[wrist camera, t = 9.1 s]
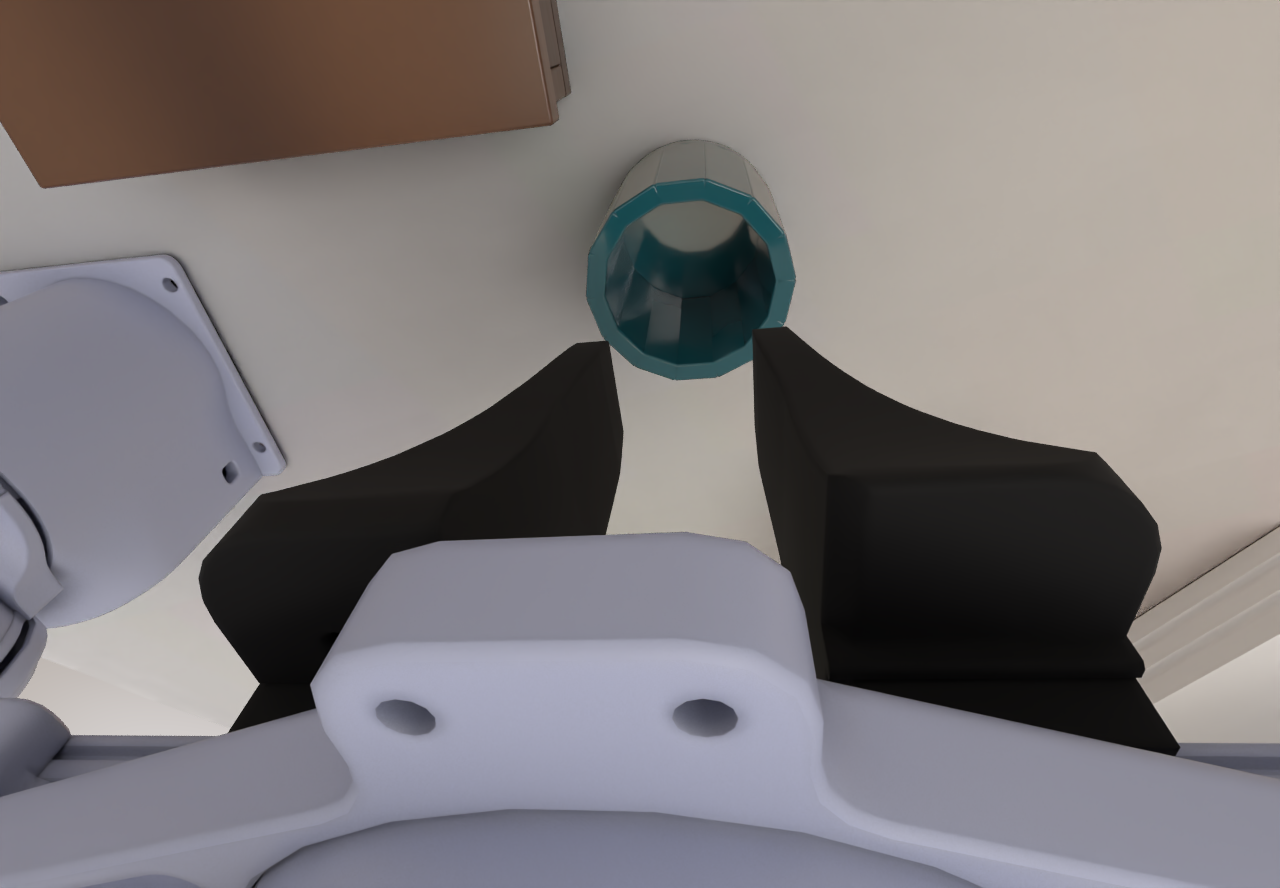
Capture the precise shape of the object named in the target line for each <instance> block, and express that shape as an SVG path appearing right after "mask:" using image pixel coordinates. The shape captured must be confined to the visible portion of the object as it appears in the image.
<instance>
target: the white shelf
mask: <svg viewBox="0 0 1280 888" xmlns="http://www.w3.org/2000/svg"><path fill="white" fill-rule="evenodd" d="M1127 637H1128V638H1129V640H1130V641H1131V643H1132V644H1133V646H1134V647H1135V649H1136V650H1137V652H1138V653H1139V655H1140V656H1141V658H1142V659H1143V660H1144V665H1145V672H1144V674H1143V676H1142V678H1136V679H1137V681H1138V682H1139V684H1140V685H1141V687H1142V688H1143V690H1144V692H1145V693H1146V695H1147V696H1148V698H1149V699H1150V701H1151V702H1152V704H1153V705H1154V707H1155V709H1156V710H1157V712H1158V713H1159V715H1160V716H1161V718H1162V719H1163V721H1164V722H1165V724H1166V726H1167V727H1168V729H1169V730H1170V732H1171V733H1172V735H1173V736H1174V738H1175V739H1176V741H1177V743H1280V527H1278V528H1277V529H1275V530H1274V531H1272V532H1271V533H1269V534H1267V535H1266V536H1264V537H1263V538H1261V539H1260V540H1258V541H1257V542H1255V543H1253V544H1252V545H1250V546H1249V547H1247V548H1246V549H1244V550H1243V551H1241V552H1239V553H1238V554H1236V555H1235V556H1233V557H1232V558H1230V559H1229V560H1227V561H1226V562H1224V563H1222V564H1221V565H1219V566H1218V567H1216V568H1215V569H1213V570H1212V571H1210V572H1208V573H1207V574H1205V575H1204V576H1202V577H1201V578H1199V579H1198V580H1196V581H1194V582H1193V583H1191V584H1190V585H1188V586H1187V587H1185V588H1184V589H1182V590H1181V591H1179V592H1177V593H1176V594H1174V595H1173V596H1171V597H1170V598H1168V599H1167V600H1165V601H1163V602H1162V603H1160V604H1159V605H1157V606H1156V607H1154V608H1153V609H1151V610H1149V611H1148V612H1146V613H1145V614H1143V615H1142V616H1140V617H1139V618H1137V619H1136V620H1134V621H1133V623H1132V625H1131V627H1130V629H1129V632H1128V634H1127Z"/></svg>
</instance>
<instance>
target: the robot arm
mask: <svg viewBox="0 0 1280 888" xmlns="http://www.w3.org/2000/svg"><path fill="white" fill-rule="evenodd" d="M170 279H171V280H173V281H174V282H175V283H176V284H177V287H178V288H177V287H175V286H174V285H173V284H172V283H171V281H170ZM752 342H753V380H754V417H755V433H756V443H757V454H758V464H759V469H760V474H761V478H762V483H763V487H764V491H765V496H766V500H767V504H768V508H769V513H770V517H771V521H772V525H773V530H774V534H775V538H776V542H777V546H778V551H779V555H780V560H781V565H780V564H778V563H777V562H776V561H774V560H773V559H771V558H770V557H768V556H767V555H765V554H764V553H762V552H761V551H759V550H758V549H756V548H755V547H753V546H752V545H750V544H749V543H747V542H745V541H739V540H733V539H726V538H720V537H714V536H708V535H701V534H695V533H689V532H671V533H645V534H618V535H606V531H607V527H608V522H609V518H610V514H611V510H612V506H613V502H614V497H615V493H616V489H617V484H618V480H619V476H620V468H621V458H622V445H623V426H622V420H621V414H620V408H619V401H618V395H617V389H616V383H615V377H614V371H613V365H612V359H611V353H610V346H609V341H598V342H586V343H577V344H575V345H573V346H571V347H570V348H568V349H567V350H566V351H564V352H563V353H562V354H560V355H559V356H558V357H557V358H555V359H554V360H553V361H552V362H550V363H549V364H548V365H547V366H545V367H544V368H543V369H542V370H540V371H539V372H538V373H537V374H535V375H534V376H533V377H532V378H530V379H529V380H528V381H526V382H525V383H524V384H522V385H521V386H520V387H518V388H517V389H515V390H514V391H513V392H511V393H510V394H508V395H507V396H506V397H504V398H503V399H501V400H500V401H498V402H497V403H496V404H494V405H493V406H491V407H490V408H488V409H487V410H485V411H484V412H482V413H480V414H479V415H477V416H475V417H474V418H472V419H470V420H468V421H467V422H465V423H463V424H461V425H459V426H457V427H456V428H454V429H452V430H450V431H448V432H446V433H444V434H442V435H440V436H438V437H436V438H433V439H431V440H429V441H427V442H424V443H422V444H420V445H418V446H416V447H413V448H411V449H409V450H407V451H404V452H402V453H400V454H397V455H395V456H392V457H389V458H387V459H384V460H381V461H379V462H376V463H373V464H370V465H367V466H364V467H361V468H358V469H355V470H352V471H349V472H346V473H343V474H339V475H336V476H333V477H329V478H326V479H322V480H318V481H314V482H310V483H306V484H302V485H299V486H295V487H291V488H287V489H283V490H279V491H275V492H270V493H266V494H262V495H260V496H259V497H258V498H257V499H256V501H255V502H254V503H253V504H252V505H251V506H250V507H249V509H248V510H247V511H246V512H245V513H244V514H243V515H242V517H241V518H240V519H239V520H238V521H237V522H236V523H235V524H234V526H233V527H232V528H231V529H230V530H229V531H228V532H227V534H226V535H225V536H224V537H223V538H222V539H221V540H220V542H219V543H218V544H217V545H216V546H215V547H214V548H213V549H212V551H211V552H210V553H209V554H208V555H207V556H206V557H205V559H204V560H203V562H202V566H201V570H200V574H199V584H200V589H201V594H202V599H203V601H204V604H205V606H206V607H207V609H208V611H209V613H210V615H211V616H212V618H213V620H214V622H215V623H216V625H217V626H218V627H219V629H220V630H221V631H222V633H223V634H224V636H225V637H226V638H227V640H228V641H229V642H230V644H231V645H232V646H233V648H234V649H235V651H236V652H237V653H238V655H239V656H240V657H241V659H242V660H243V661H244V663H245V664H246V666H247V667H248V668H249V670H250V671H251V672H252V674H253V675H254V676H255V678H256V679H257V681H258V682H259V683H260V684H259V686H258V687H257V689H256V690H255V692H254V694H253V695H252V697H251V698H250V700H249V701H248V703H247V704H246V706H245V707H244V709H243V710H242V712H241V713H240V715H239V716H238V718H237V720H236V721H235V723H234V724H233V726H232V727H231V729H230V730H229V732H228V733H227V734H223V735H220V736H112V735H111V736H110V735H109V736H108V735H107V736H106V735H71V734H70V731H69V729H68V728H67V726H66V725H64V723H63V722H62V721H61V719H59V718H58V717H57V716H56V715H55V714H54V713H53V712H52V711H50V710H49V709H47V708H46V707H44V706H43V705H40V704H38V703H35V702H33V701H30V700H26V699H19V698H17V697H18V696H19V695H20V694H21V692H22V691H23V690H24V688H25V687H26V685H27V684H28V682H29V681H30V679H31V677H32V676H33V674H34V671H35V669H36V666H37V663H38V661H39V659H40V657H41V655H42V653H43V651H44V649H45V646H46V641H47V636H48V635H47V630H46V629H47V628H57V627H63V626H68V625H72V624H76V623H80V622H84V621H87V620H90V619H93V618H96V617H99V616H101V615H104V614H106V613H108V612H111V611H113V610H115V609H117V608H119V607H121V606H123V605H124V604H126V603H128V602H130V601H131V600H133V599H135V598H137V597H138V596H140V595H141V594H143V593H145V592H146V591H148V590H149V589H151V588H152V587H153V586H155V585H156V584H158V583H159V582H160V581H162V580H163V579H164V578H165V577H166V576H168V575H169V574H170V573H171V572H172V571H173V570H174V569H175V568H176V567H177V566H179V565H180V564H181V563H182V561H183V560H184V559H185V558H186V557H187V556H188V555H189V554H190V553H191V552H192V551H193V550H194V549H195V548H196V547H197V545H198V544H199V543H200V542H201V541H202V540H203V539H204V538H205V537H206V536H207V535H208V534H209V533H210V532H211V531H212V529H213V528H214V527H215V526H216V525H217V524H218V523H219V522H220V521H221V520H222V519H223V518H224V517H225V516H226V515H227V514H228V512H229V511H230V510H231V509H232V508H233V507H234V506H235V505H236V504H237V503H238V502H239V501H240V500H241V499H242V498H243V496H244V495H245V494H246V493H247V492H248V491H249V490H250V489H251V488H252V487H253V486H254V485H255V484H256V483H257V482H258V480H259V479H260V478H261V477H262V476H274V475H279V474H280V473H282V471H283V470H284V469H285V468H286V462H285V460H284V458H283V456H282V454H281V453H280V451H279V449H278V447H277V445H276V443H275V441H274V439H273V438H272V436H271V434H270V432H269V430H268V428H267V426H266V424H265V422H264V421H263V419H262V417H261V415H260V413H259V411H258V409H257V407H256V406H255V404H254V402H253V400H252V398H251V396H250V394H249V392H248V390H247V389H246V387H245V385H244V383H243V381H242V379H241V377H240V375H239V374H238V372H237V370H236V368H235V366H234V364H233V362H232V360H231V359H230V357H229V355H228V353H227V351H226V349H225V347H224V345H223V343H222V342H221V340H220V338H219V336H218V334H217V332H216V330H215V328H214V327H213V325H212V323H211V321H210V319H209V317H208V315H207V313H206V311H205V310H204V308H203V306H202V304H201V302H200V300H199V298H198V296H197V295H196V293H195V291H194V289H193V287H192V285H191V283H190V281H189V280H188V278H187V276H186V274H185V272H184V270H183V268H182V267H181V265H180V264H179V262H178V261H177V260H175V259H174V258H173V257H171V256H168V255H163V254H160V255H151V256H142V257H132V258H123V259H114V260H105V261H95V262H86V263H77V264H68V265H59V266H49V267H40V268H31V269H22V270H12V271H3V272H0V888H1280V743H1177V741H1176V739H1175V738H1174V736H1173V735H1172V733H1171V732H1170V730H1169V729H1168V727H1167V726H1166V724H1165V722H1164V721H1163V719H1162V718H1161V716H1160V715H1159V713H1158V712H1157V710H1156V709H1155V707H1154V705H1153V704H1152V702H1151V701H1150V699H1149V698H1148V696H1147V695H1146V693H1145V692H1144V690H1143V688H1142V687H1141V685H1140V684H1139V682H1138V681H1137V679H1136V678H1142V676H1143V674H1144V672H1145V665H1144V660H1143V659H1142V658H1141V656H1140V655H1139V653H1138V652H1137V650H1136V649H1135V647H1134V646H1133V644H1132V643H1131V641H1130V640H1129V638H1128V637H1127V634H1128V632H1129V629H1130V627H1131V625H1132V623H1133V621H1134V618H1135V616H1136V614H1137V612H1138V610H1139V607H1140V605H1141V603H1142V601H1143V599H1144V596H1145V594H1146V592H1147V590H1148V588H1149V586H1150V583H1151V581H1152V579H1153V577H1154V575H1155V572H1156V568H1157V564H1158V560H1159V556H1160V552H1161V549H1162V548H1161V542H1160V536H1159V530H1158V525H1157V523H1156V522H1155V520H1154V519H1153V517H1152V516H1151V515H1150V513H1149V512H1148V510H1147V509H1146V508H1145V506H1144V505H1143V503H1142V502H1141V501H1140V500H1139V499H1138V498H1137V497H1136V495H1135V494H1134V493H1133V492H1132V491H1131V490H1130V489H1129V487H1128V486H1127V485H1126V484H1125V483H1124V482H1123V481H1122V479H1121V478H1120V477H1119V476H1118V475H1117V474H1116V473H1115V472H1114V471H1113V470H1112V469H1111V467H1110V466H1109V465H1108V464H1107V463H1106V462H1105V461H1104V460H1103V459H1102V458H1101V457H1100V456H1099V455H1098V454H1097V453H1095V452H1089V451H1083V450H1077V449H1071V448H1064V447H1058V446H1052V445H1046V444H1040V443H1033V442H1027V441H1022V440H1017V439H1012V438H1008V437H1004V436H1000V435H996V434H992V433H987V432H983V431H979V430H975V429H972V428H969V427H965V426H962V425H958V424H955V423H952V422H949V421H946V420H943V419H940V418H937V417H935V416H932V415H929V414H926V413H923V412H921V411H918V410H916V409H913V408H911V407H908V406H906V405H904V404H901V403H899V402H897V401H895V400H893V399H891V398H889V397H887V396H885V395H883V394H881V393H879V392H877V391H875V390H873V389H871V388H869V387H868V386H866V385H864V384H862V383H861V382H859V381H858V380H856V379H854V378H853V377H851V376H850V375H848V374H846V373H845V372H843V371H842V370H841V369H839V368H838V367H836V366H835V365H833V364H832V363H831V362H829V361H828V360H827V359H825V358H824V357H823V356H821V355H820V354H819V353H818V352H816V351H815V350H814V349H813V348H811V347H810V346H809V345H808V344H807V343H805V342H804V341H803V340H802V339H801V338H799V337H798V336H797V335H796V334H795V333H794V332H792V331H791V330H790V329H789V328H788V327H775V328H762V329H752ZM260 443H261V444H263V445H264V446H265V447H264V446H262V445H261V444H260Z"/></svg>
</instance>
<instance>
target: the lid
mask: <svg viewBox="0 0 1280 888" xmlns="http://www.w3.org/2000/svg"><path fill="white" fill-rule="evenodd" d="M558 120H559V115H558V109H557V103H556V97H555V92H554V86H553V80H552V74H551V69H550V63H549V57H548V51H547V45H546V40H545V34H544V28H543V22H542V17H541V11H540V5H539V0H0V122H1V124H2V125H3V127H4V129H5V130H6V132H7V133H8V135H9V137H10V138H11V140H12V142H13V143H14V145H15V146H16V148H17V150H18V151H19V153H20V155H21V156H22V158H23V159H24V161H25V163H26V164H27V166H28V168H29V169H30V171H31V173H32V174H33V176H34V177H35V179H36V181H37V182H38V184H39V186H40V187H41V188H45V189H46V188H54V187H62V186H70V185H78V184H86V183H94V182H102V181H110V180H118V179H126V178H134V177H142V176H150V175H158V174H166V173H174V172H182V171H190V170H198V169H206V168H214V167H222V166H230V165H238V164H246V163H254V162H262V161H270V160H278V159H286V158H294V157H302V156H310V155H318V154H326V153H334V152H342V151H350V150H358V149H366V148H374V147H382V146H390V145H398V144H406V143H414V142H422V141H430V140H438V139H446V138H454V137H462V136H470V135H478V134H486V133H494V132H502V131H510V130H518V129H526V128H534V127H542V126H550V125H552V124H554V123H555V122H556V121H558Z"/></svg>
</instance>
